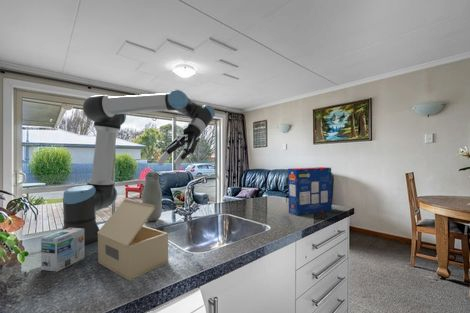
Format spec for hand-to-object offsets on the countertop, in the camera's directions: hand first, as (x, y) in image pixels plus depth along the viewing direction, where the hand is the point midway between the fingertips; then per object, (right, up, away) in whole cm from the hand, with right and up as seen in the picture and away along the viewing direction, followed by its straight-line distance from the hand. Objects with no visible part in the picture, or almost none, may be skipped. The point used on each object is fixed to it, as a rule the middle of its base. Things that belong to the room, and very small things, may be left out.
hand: (167, 164), depth 93 cm
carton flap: (-9, -18, -17) cm, 26 cm away
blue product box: (+76, -32, +51) cm, 97 cm away
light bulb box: (-31, -34, -15) cm, 48 cm away
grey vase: (-19, -33, +35) cm, 52 cm away
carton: (-7, -33, -15) cm, 37 cm away
